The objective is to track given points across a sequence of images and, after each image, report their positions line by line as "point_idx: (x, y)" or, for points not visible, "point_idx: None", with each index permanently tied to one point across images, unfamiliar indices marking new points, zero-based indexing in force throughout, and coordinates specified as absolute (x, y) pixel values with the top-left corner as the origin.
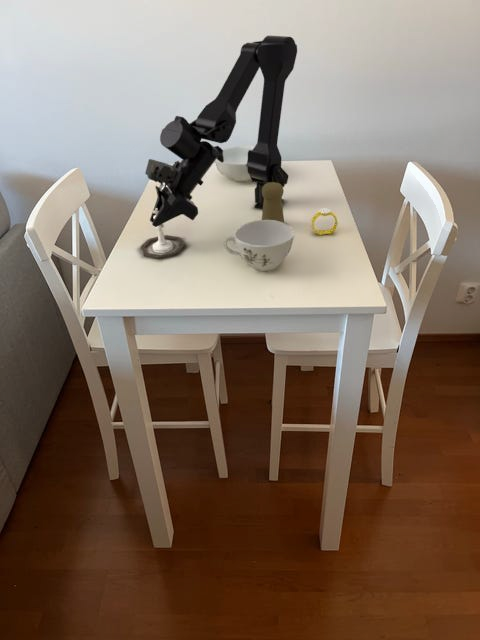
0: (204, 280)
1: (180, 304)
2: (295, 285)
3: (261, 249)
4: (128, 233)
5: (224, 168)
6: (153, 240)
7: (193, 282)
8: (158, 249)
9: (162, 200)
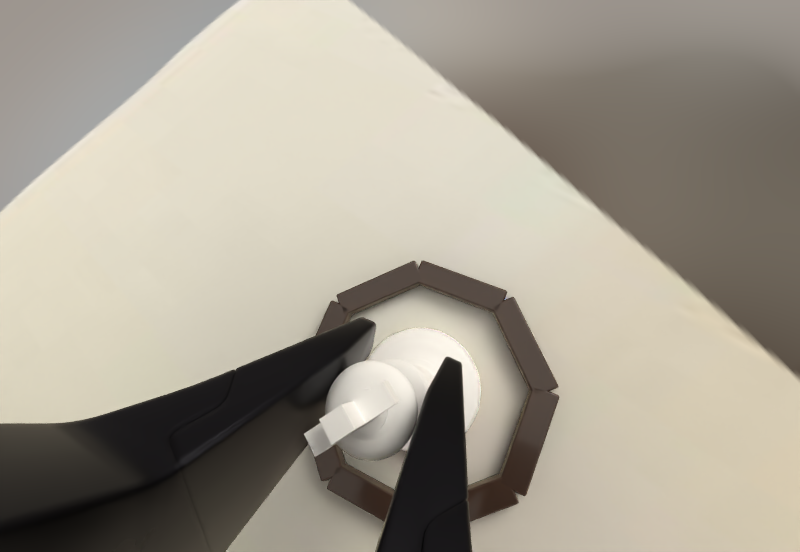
0: (77, 318)
1: (70, 167)
2: None
3: None
4: (775, 367)
5: None
6: (525, 401)
7: (104, 279)
8: (392, 337)
9: (24, 480)
